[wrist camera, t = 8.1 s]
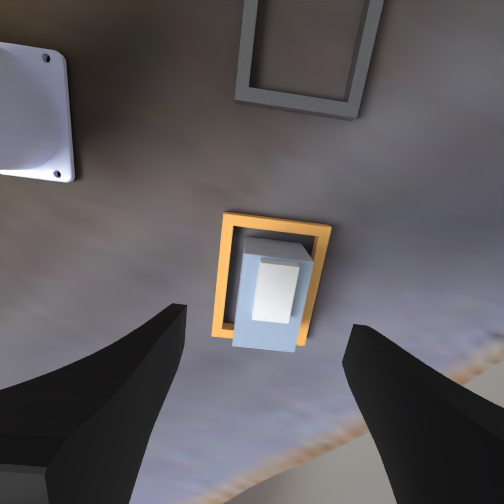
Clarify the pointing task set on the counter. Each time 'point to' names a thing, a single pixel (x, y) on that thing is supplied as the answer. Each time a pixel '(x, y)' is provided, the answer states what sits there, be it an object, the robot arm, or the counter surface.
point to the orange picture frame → (272, 224)
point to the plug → (271, 294)
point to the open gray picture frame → (306, 103)
